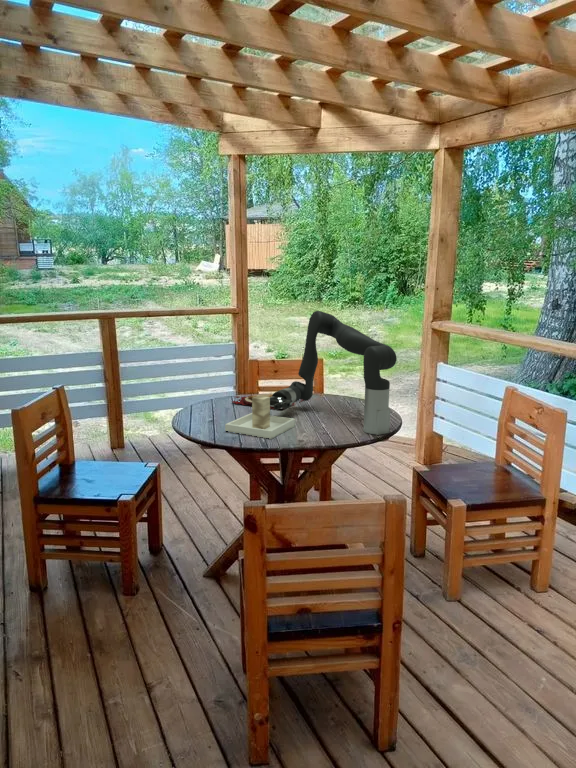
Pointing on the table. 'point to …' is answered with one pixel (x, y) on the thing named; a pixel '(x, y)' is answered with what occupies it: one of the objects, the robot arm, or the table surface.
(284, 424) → the tray
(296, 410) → the table surface
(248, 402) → the plate with food
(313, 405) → the table surface
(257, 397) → the block
